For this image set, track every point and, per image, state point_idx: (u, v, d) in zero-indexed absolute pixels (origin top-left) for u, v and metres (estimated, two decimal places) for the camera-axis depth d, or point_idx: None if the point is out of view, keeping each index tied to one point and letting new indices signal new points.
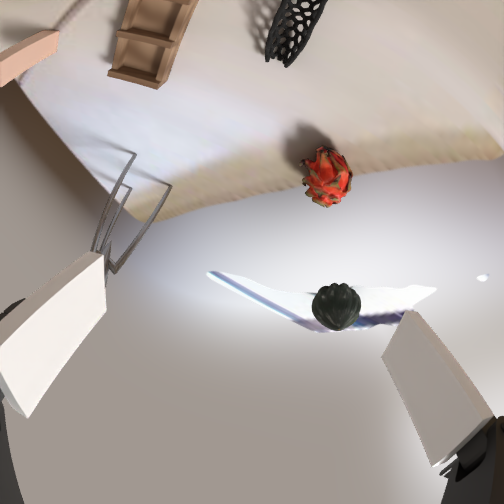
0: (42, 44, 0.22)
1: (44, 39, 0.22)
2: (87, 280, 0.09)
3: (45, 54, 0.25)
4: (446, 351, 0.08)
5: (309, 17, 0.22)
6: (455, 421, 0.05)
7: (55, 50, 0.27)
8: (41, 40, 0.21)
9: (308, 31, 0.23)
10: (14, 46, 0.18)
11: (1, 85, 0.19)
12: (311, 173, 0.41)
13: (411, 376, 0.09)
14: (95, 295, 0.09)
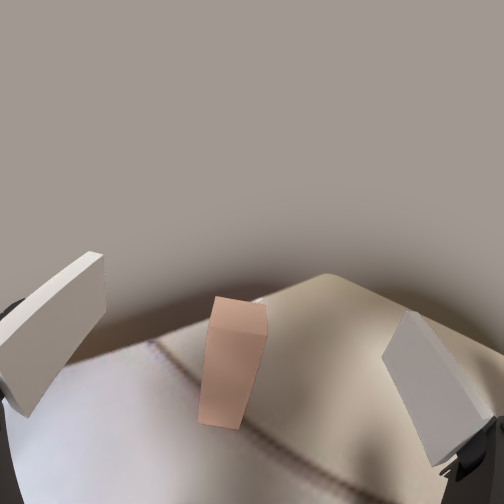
0: (232, 407, 0.23)
1: (240, 410, 0.23)
2: (87, 280, 0.09)
3: (206, 409, 0.23)
4: (446, 351, 0.08)
5: None
6: (455, 421, 0.05)
7: (201, 422, 0.24)
8: (243, 406, 0.23)
9: None
10: None
11: (211, 326, 0.20)
12: None
13: (410, 376, 0.09)
14: (95, 295, 0.09)
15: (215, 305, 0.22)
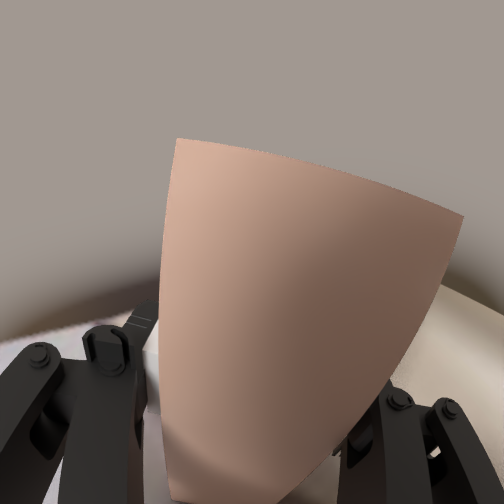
0: (261, 487, 0.07)
1: (281, 490, 0.07)
2: None
3: (189, 486, 0.07)
4: None
5: None
6: None
7: (180, 499, 0.08)
8: (291, 484, 0.07)
9: None
10: None
11: (197, 144, 0.03)
12: None
13: None
14: None
15: None
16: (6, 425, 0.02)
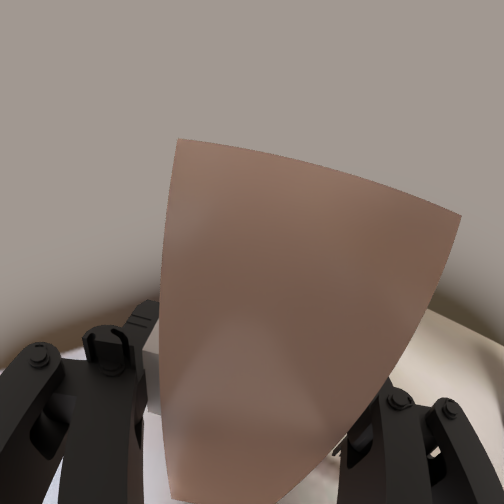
0: (261, 485, 0.07)
1: (281, 489, 0.07)
2: None
3: (189, 485, 0.07)
4: None
5: None
6: None
7: (180, 499, 0.08)
8: (290, 483, 0.07)
9: None
10: None
11: None
12: None
13: None
14: None
15: None
16: (6, 425, 0.02)
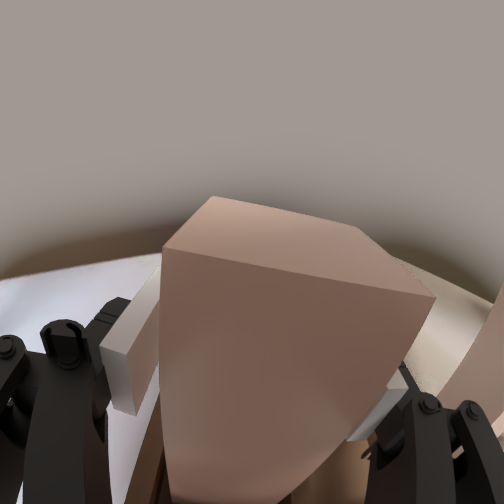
0: (253, 497, 0.07)
1: (272, 500, 0.07)
2: None
3: (189, 495, 0.07)
4: None
5: None
6: None
7: None
8: (279, 495, 0.07)
9: None
10: None
11: (181, 250, 0.04)
12: None
13: None
14: None
15: (209, 206, 0.06)
16: None
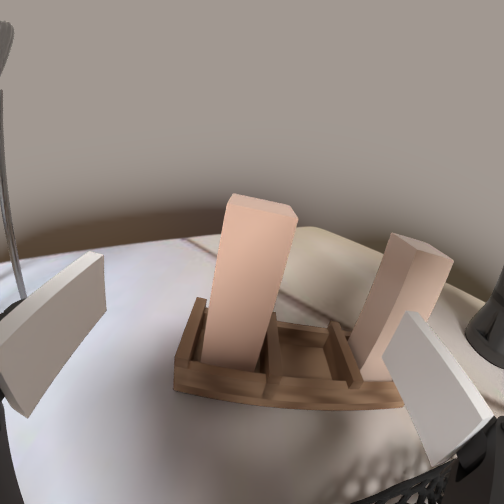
0: (247, 338, 0.20)
1: (257, 344, 0.20)
2: (87, 280, 0.09)
3: (213, 343, 0.20)
4: (446, 351, 0.08)
5: None
6: (455, 421, 0.05)
7: None
8: (260, 337, 0.20)
9: None
10: None
11: (231, 204, 0.17)
12: None
13: (411, 376, 0.09)
14: (95, 295, 0.09)
15: (233, 196, 0.19)
16: None
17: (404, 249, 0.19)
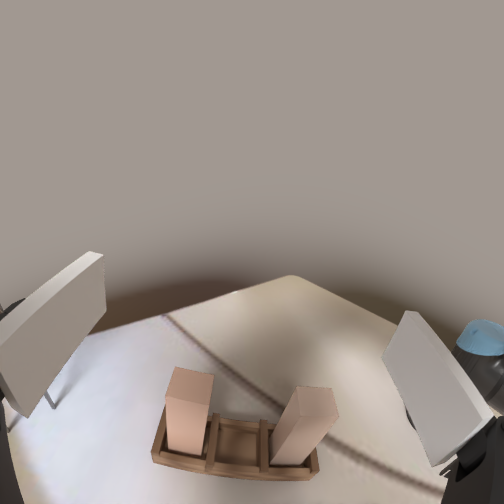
0: (192, 443, 0.27)
1: (199, 446, 0.27)
2: (87, 280, 0.09)
3: (173, 442, 0.27)
4: (446, 351, 0.08)
5: None
6: (455, 421, 0.05)
7: (171, 450, 0.28)
8: (200, 443, 0.27)
9: None
10: None
11: (168, 395, 0.24)
12: None
13: (411, 376, 0.09)
14: (95, 295, 0.09)
15: (173, 376, 0.26)
16: None
17: (297, 407, 0.26)
